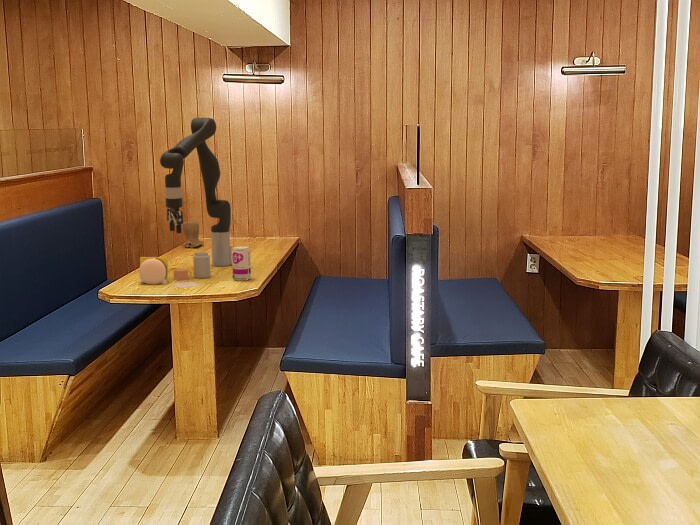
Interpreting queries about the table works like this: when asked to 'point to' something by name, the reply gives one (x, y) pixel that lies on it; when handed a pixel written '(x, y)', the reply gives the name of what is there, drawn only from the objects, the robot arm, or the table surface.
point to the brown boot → (191, 234)
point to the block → (180, 274)
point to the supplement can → (241, 263)
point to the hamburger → (153, 270)
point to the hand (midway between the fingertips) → (175, 232)
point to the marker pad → (186, 284)
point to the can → (201, 265)
